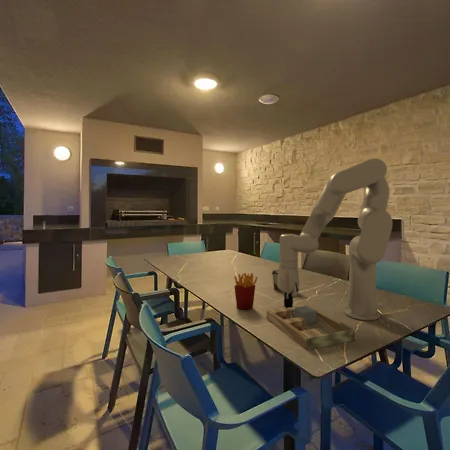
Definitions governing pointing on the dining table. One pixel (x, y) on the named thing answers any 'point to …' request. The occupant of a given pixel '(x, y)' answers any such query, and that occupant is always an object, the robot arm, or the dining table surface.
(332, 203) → the robot arm
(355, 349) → the dining table surface
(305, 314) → the block
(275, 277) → the food container
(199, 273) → the dining table surface
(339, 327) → the channel
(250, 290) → the french fries
